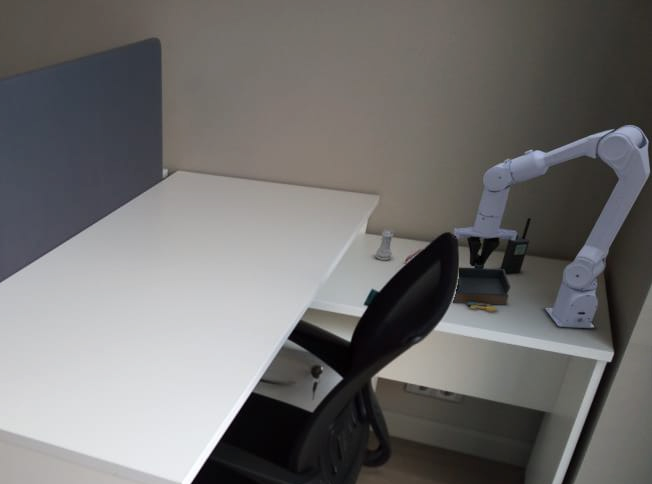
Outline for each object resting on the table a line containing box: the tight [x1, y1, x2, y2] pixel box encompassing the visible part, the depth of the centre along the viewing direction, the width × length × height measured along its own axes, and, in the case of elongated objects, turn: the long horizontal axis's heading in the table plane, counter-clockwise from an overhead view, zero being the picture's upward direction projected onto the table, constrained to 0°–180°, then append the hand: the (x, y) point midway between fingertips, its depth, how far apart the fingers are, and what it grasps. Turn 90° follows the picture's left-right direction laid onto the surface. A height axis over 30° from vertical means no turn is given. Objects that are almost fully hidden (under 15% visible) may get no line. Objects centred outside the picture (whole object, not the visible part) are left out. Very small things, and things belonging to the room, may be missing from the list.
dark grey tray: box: [456, 253, 511, 296], centre depth 184 cm, size 11×12×4 cm
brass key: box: [469, 305, 496, 313], centre depth 180 cm, size 6×2×1 cm, turn 67°
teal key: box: [466, 302, 492, 307], centre depth 182 cm, size 5×2×1 cm, turn 84°
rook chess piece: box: [375, 229, 394, 261], centre depth 207 cm, size 4×4×8 cm
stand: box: [452, 293, 509, 305], centre depth 186 cm, size 8×13×2 cm, turn 82°
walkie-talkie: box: [499, 217, 532, 275], centre depth 196 cm, size 5×3×15 cm
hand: (476, 264), depth 186 cm, fingers closed on dark grey tray, 2 cm apart
